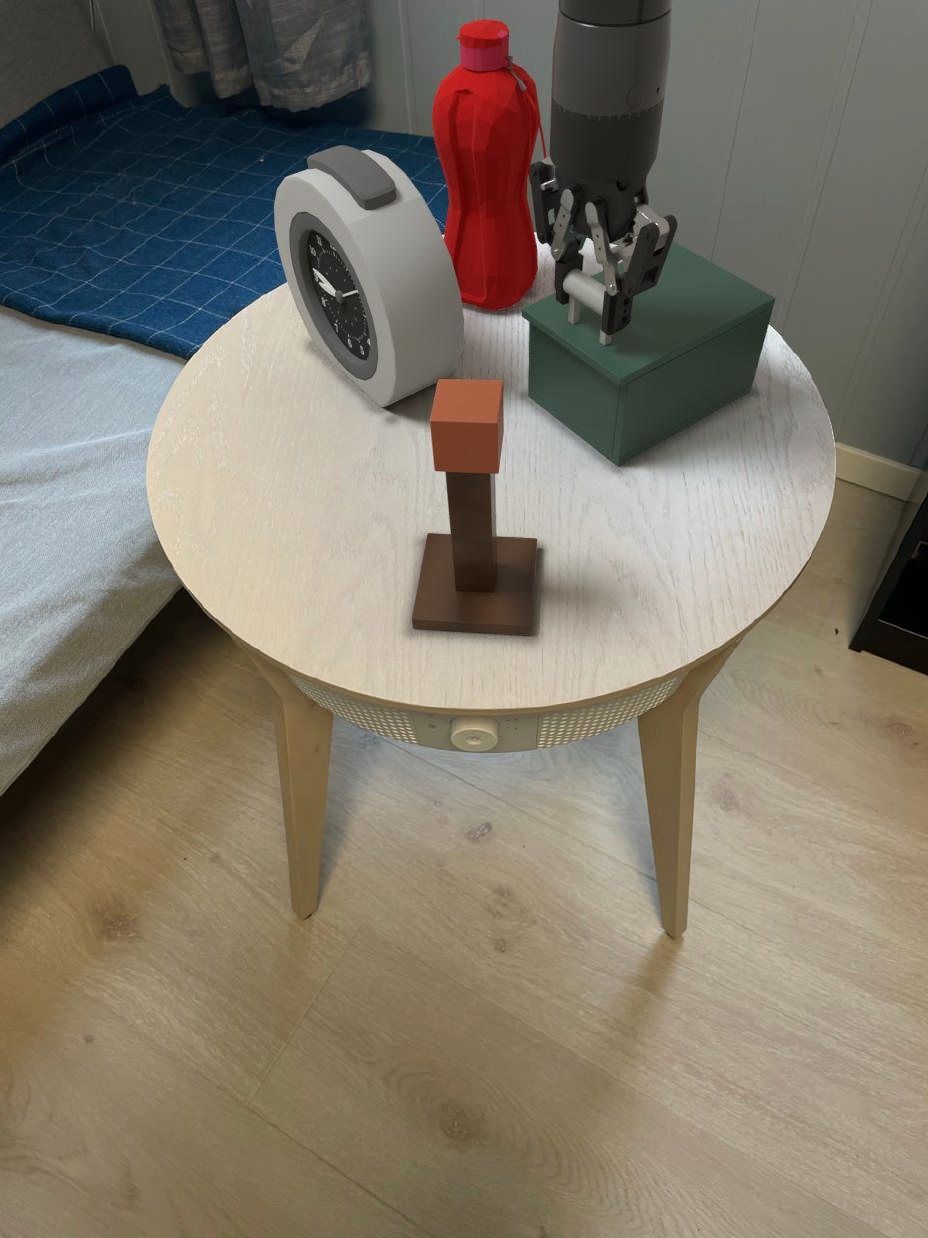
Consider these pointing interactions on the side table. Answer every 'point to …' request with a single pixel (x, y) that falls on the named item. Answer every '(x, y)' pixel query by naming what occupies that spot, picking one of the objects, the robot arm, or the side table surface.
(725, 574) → the side table surface
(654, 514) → the side table surface
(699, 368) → the bin
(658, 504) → the side table surface
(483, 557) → the stand
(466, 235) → the water bottle
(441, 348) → the alarm clock
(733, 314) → the bin lid
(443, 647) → the side table surface
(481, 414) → the block
